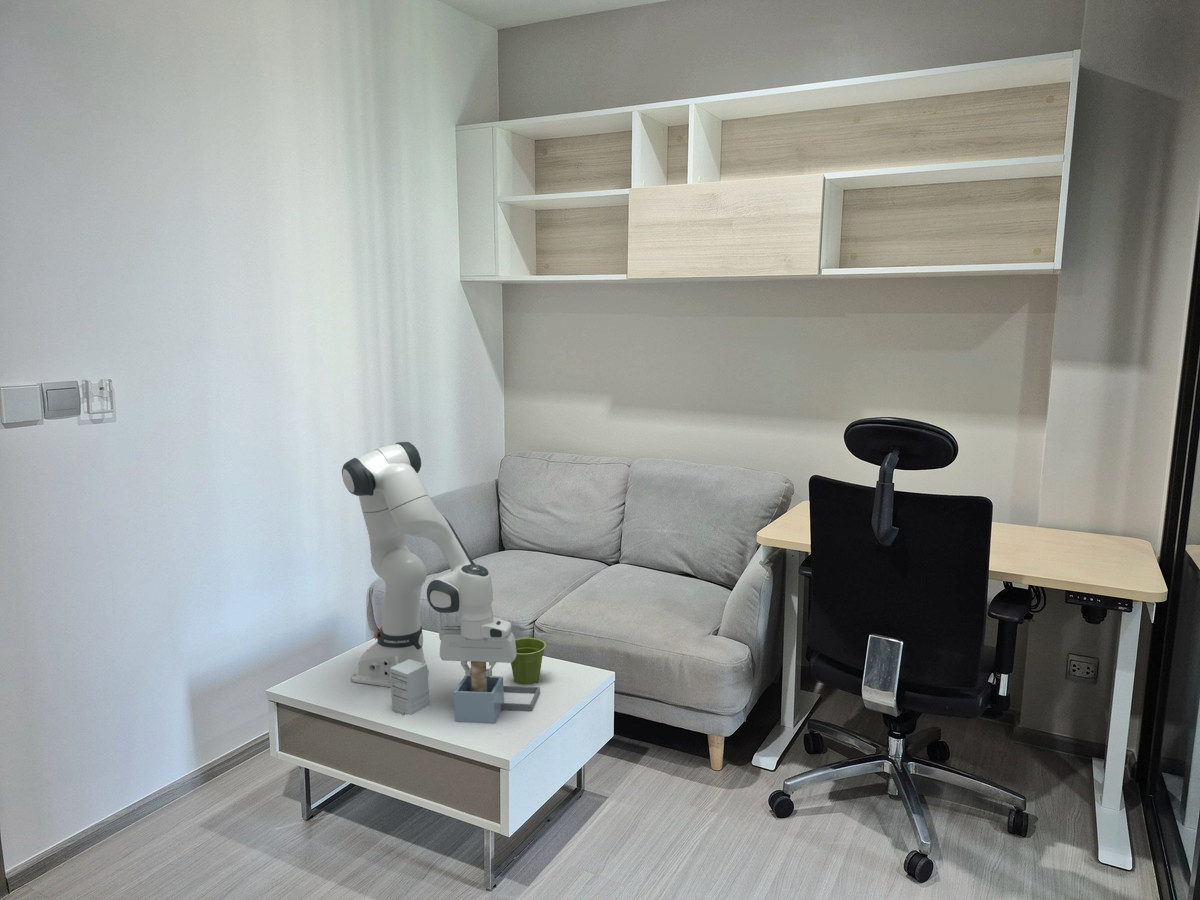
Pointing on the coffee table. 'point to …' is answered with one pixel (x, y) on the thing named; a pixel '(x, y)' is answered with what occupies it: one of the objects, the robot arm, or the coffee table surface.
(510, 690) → the tray
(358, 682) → the robot arm
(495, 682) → the blue storage bin
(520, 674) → the plant pot
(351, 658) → the coffee table surface
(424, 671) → the supplement box
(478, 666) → the dowel
